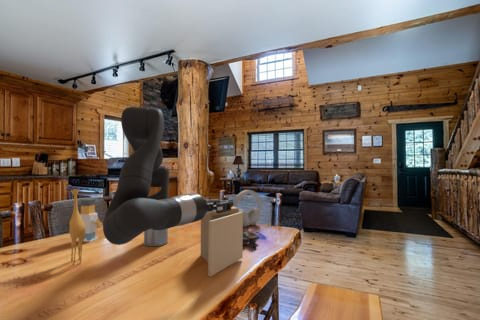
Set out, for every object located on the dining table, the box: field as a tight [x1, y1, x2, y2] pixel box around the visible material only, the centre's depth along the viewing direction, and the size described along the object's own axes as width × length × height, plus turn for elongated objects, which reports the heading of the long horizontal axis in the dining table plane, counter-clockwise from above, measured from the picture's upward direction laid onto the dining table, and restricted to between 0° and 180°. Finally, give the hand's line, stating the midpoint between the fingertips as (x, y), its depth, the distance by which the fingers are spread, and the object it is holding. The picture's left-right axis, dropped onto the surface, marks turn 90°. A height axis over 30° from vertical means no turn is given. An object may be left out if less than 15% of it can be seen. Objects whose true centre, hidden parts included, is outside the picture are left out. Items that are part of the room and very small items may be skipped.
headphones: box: [233, 189, 262, 228], centre depth 142 cm, size 19×8×20 cm, turn 127°
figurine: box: [243, 230, 260, 250], centre depth 116 cm, size 13×6×30 cm
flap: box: [207, 212, 244, 277], centre depth 83 cm, size 18×1×16 cm, turn 148°
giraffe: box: [68, 187, 86, 266], centre depth 90 cm, size 16×4×25 cm, turn 39°
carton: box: [200, 204, 240, 264], centre depth 94 cm, size 11×10×18 cm
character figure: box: [79, 198, 103, 243], centre depth 114 cm, size 8×10×18 cm
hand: (220, 201), depth 80 cm, fingers open, 8 cm apart
